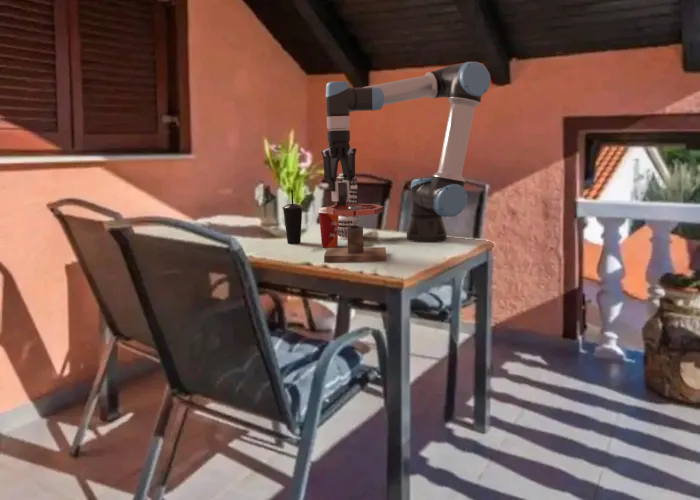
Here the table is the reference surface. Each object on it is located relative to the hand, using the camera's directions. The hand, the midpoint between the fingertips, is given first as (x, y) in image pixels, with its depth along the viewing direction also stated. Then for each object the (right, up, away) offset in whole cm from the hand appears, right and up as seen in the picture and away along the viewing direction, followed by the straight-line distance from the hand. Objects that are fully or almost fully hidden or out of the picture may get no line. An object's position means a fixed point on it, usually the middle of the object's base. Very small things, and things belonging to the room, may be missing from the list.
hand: (340, 200), depth 225 cm
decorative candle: (+2, -12, +36) cm, 38 cm away
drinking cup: (-18, -14, +27) cm, 35 cm away
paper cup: (-4, -16, +18) cm, 24 cm away
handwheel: (+5, -10, -5) cm, 12 cm away
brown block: (+5, -19, -3) cm, 20 cm away
